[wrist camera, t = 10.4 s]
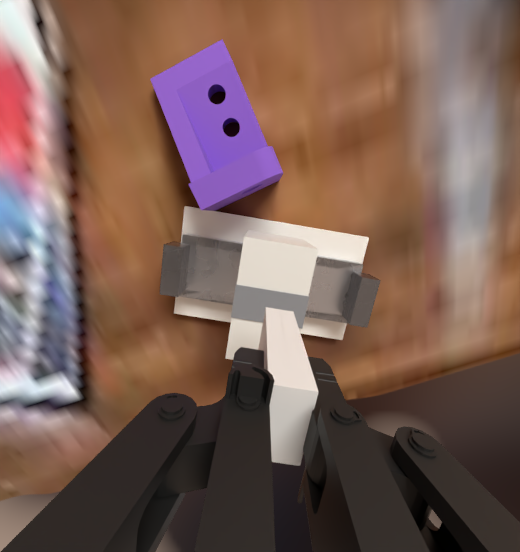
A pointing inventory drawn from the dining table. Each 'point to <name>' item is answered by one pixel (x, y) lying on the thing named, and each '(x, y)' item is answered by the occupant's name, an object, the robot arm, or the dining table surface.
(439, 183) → the dining table surface
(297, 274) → the block
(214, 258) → the rail
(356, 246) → the mount plate
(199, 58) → the bracket
